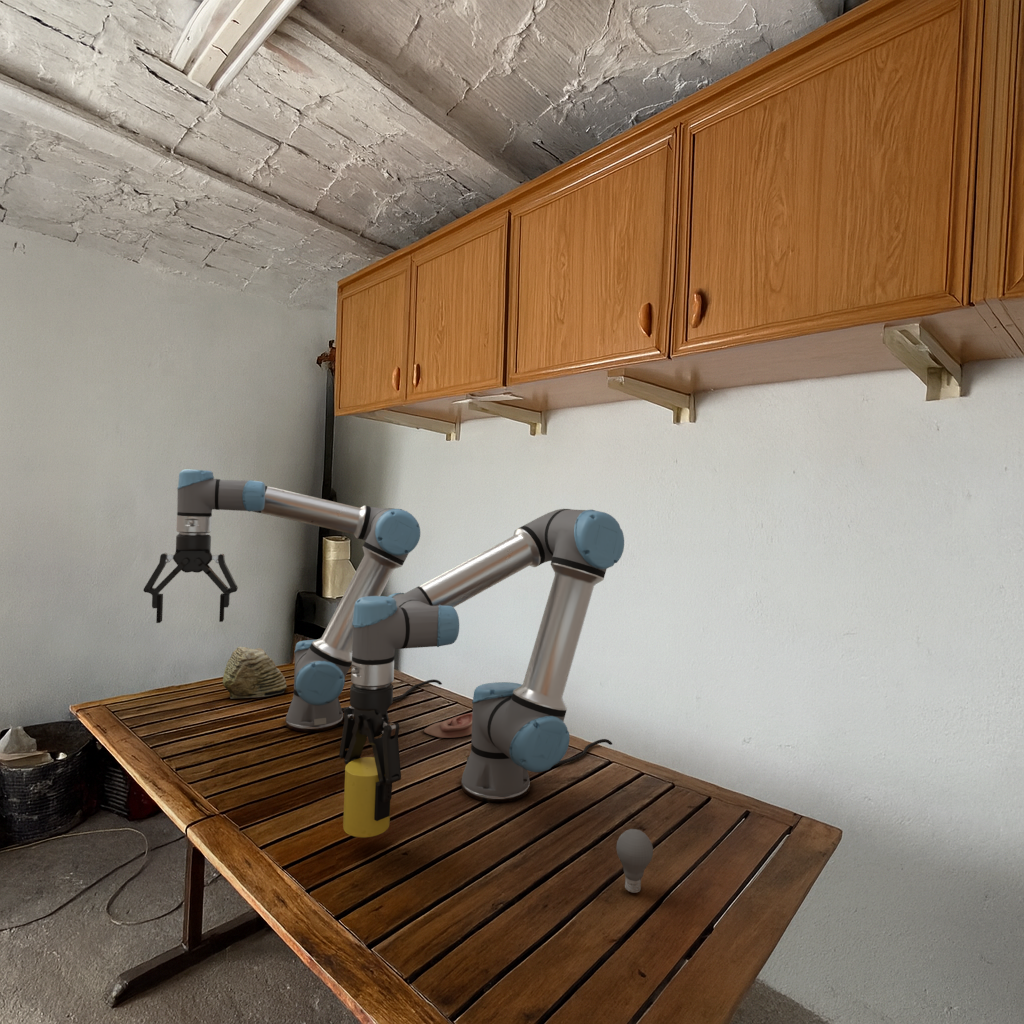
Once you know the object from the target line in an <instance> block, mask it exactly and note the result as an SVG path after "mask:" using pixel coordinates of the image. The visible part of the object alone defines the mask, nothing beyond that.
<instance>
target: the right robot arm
mask: <svg viewBox="0 0 1024 1024" xmlns="http://www.w3.org/2000/svg"><path fill="white" fill-rule="evenodd" d="M624 549H625V535H624V532H623V529H622V528H621V526H620V523H619V521H618V520H617V519H616V518H615V517H614V516H612V514H610V513H607V512H605V511H599V510H595V509H574V508H573V509H572V508H559V509H555V510H552V511H550V512H547V513H545V514H543V515H541V516H539V517H537V518H534V519H533V520H531V521H530V522H527V523H526V524H524V525H522V526H520V527H518V528H516V529H515V530H514V532H513V535H512V536H511V537H509V538H507V539H505V540H503V541H501V542H499V543H498V544H496V545H494V546H491V547H489V548H488V549H485V550H484V551H482V552H481V553H479V554H477V555H475V556H473V557H471V558H469V559H467V560H465V561H464V562H461V563H460V564H457V565H456V566H454V567H453V568H450V569H449V570H446V571H445V572H443V573H441V574H439V575H437V576H435V577H434V578H431V579H429V580H428V581H426V582H424V583H422V584H420V585H418V586H416V587H414V588H413V589H410V590H408V591H406V592H395V593H392V594H390V595H388V596H386V595H381V596H366V597H362V598H359V599H358V600H357V601H356V602H355V605H354V614H353V622H352V625H353V634H352V664H351V671H350V682H351V683H352V684H351V685H350V688H349V689H350V691H349V705H350V706H346V708H345V707H343V708H344V711H343V726H342V732H341V733H342V734H341V740H340V746H339V753H338V756H339V758H340V759H343V761H344V764H345V766H346V765H347V764H348V763H349V762H351V761H353V760H355V759H359V758H362V757H361V756H362V754H363V751H364V748H365V744H366V743H367V742H366V741H368V744H369V745H371V748H372V753H373V757H374V758H375V763H376V768H377V773H378V778H379V782H376V790H375V817H374V820H376V821H379V820H381V819H384V818H386V817H388V816H390V817H391V801H390V800H392V797H393V793H392V791H393V783H396V782H399V781H401V779H402V773H401V772H402V771H401V759H400V758H401V757H400V744H399V742H400V741H399V734H400V723H399V722H392V721H390V718H389V715H388V710H389V708H390V707H391V706H392V704H393V698H394V685H393V682H394V680H395V652H396V650H403V649H417V648H433V647H437V648H440V647H444V646H449V645H453V644H454V643H456V641H457V640H458V638H459V634H460V618H459V614H458V612H457V610H456V608H455V607H457V606H459V605H461V604H463V603H465V602H466V601H468V600H470V599H472V598H474V597H476V596H477V595H479V594H481V593H482V592H484V591H486V590H488V589H491V588H492V587H493V586H496V585H497V584H499V583H500V582H503V581H504V580H506V579H508V578H509V577H512V576H514V575H515V574H517V573H518V572H521V571H522V570H524V569H526V568H528V567H532V568H537V567H539V566H541V565H542V564H544V563H547V562H550V566H551V568H552V570H553V573H554V577H553V580H552V584H551V587H550V590H549V594H548V597H547V601H546V604H545V607H544V611H543V613H542V618H541V620H540V624H539V628H538V631H537V634H536V638H535V641H534V644H533V648H532V652H531V656H530V659H529V662H528V665H527V669H526V672H525V676H524V679H523V682H522V684H521V683H518V682H509V681H507V682H505V681H500V682H488V683H482V684H480V685H477V686H476V687H475V689H474V690H473V697H472V701H471V702H472V712H471V713H472V734H471V744H470V752H469V756H468V757H466V764H465V767H464V770H463V772H462V774H461V790H462V791H463V793H465V794H466V795H468V796H469V797H471V798H473V799H476V800H479V801H481V802H487V803H488V802H489V803H508V802H512V801H517V800H519V799H522V798H523V797H525V796H527V794H528V793H529V791H530V784H531V783H530V782H531V781H530V775H529V772H531V773H542V772H546V771H549V770H550V769H552V768H554V767H558V766H563V765H565V764H568V763H572V762H574V761H577V760H579V759H581V758H583V757H584V756H585V755H586V754H587V753H588V750H589V749H590V748H592V747H594V746H597V745H599V744H603V743H606V744H608V745H610V746H611V745H613V742H612V741H611V740H609V739H608V738H601V739H597V740H595V741H593V742H591V743H588V744H587V745H586V746H585V747H584V749H583V750H582V752H580V753H578V754H577V755H575V756H573V757H570V758H569V757H568V758H566V759H563V758H564V757H565V755H566V754H567V751H568V749H569V746H570V739H571V738H570V737H571V736H570V732H569V730H568V726H567V724H566V723H565V722H564V721H565V718H566V714H567V711H568V706H567V704H566V702H565V700H564V693H565V690H566V687H567V683H568V680H569V676H570V672H571V669H572V666H573V662H574V658H575V655H576V653H577V648H578V644H579V641H580V637H581V634H582V630H583V626H584V624H585V620H586V616H587V613H588V610H589V606H590V603H591V599H592V595H593V593H594V588H595V586H596V585H597V584H599V583H601V582H602V581H604V579H605V575H606V573H607V570H608V569H609V568H612V567H613V566H614V565H615V564H617V563H618V562H619V561H620V560H621V558H622V557H623V556H622V555H623V553H624ZM384 775H385V776H384Z"/></svg>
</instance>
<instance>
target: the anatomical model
mask: <svg viewBox="0 0 1024 1024" xmlns="http://www.w3.org/2000/svg"><path fill="white" fill-rule="evenodd" d="M472 713H473V712H468V713H464V714H461V715H457V716H454V717H452V718H448V719H446V720H443V721H439V722H435V723H433V724H430V725H429V726H427V727H425V728H424V730H423V733H424V734H427V735H430V736H432V737H436V738H442V739H448V738H449V739H451V738H461V737H466V736H469V735H472Z"/></svg>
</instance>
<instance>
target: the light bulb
mask: <svg viewBox="0 0 1024 1024" xmlns="http://www.w3.org/2000/svg"><path fill="white" fill-rule="evenodd" d="M615 849H616V854H617V857H618V859H619V861H620V863H621V865H622V867H623V873H624V874H623V875H624V876H625V878H624V888H625V890H627V891H628V892H630V893H634V894H635V893H639V892H640V891H641V889H642V887H641V886H642V879H643V877H644V875H645V871H646V868H647V867H648V866H649V864H650V863H651V861H652V859H653V855H654V847H653V843H652V841H651V838H649V836H648V835H647V834H646V833H645V832H643V831H642V830H641V829H636V828H629V829H627V830H625V831H623V832H622V833H621V834H620V835H619V837H618V839H617V841H616V847H615Z"/></svg>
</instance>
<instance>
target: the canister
mask: <svg viewBox="0 0 1024 1024" xmlns="http://www.w3.org/2000/svg"><path fill="white" fill-rule="evenodd" d="M384 776H385V775H384ZM376 782H379V778H378V773H377V768H376V763H375V758H374V756H365V757H361V758H359V759H355V760H353V761H351V762H349V763H348V764H347V765H346V764H345V767H344V791H343V793H344V795H343V796H344V797H343V818H342V820H343V821H342V829H343V832H344V833H346V834H347V835H348V836H351V837H354V838H372V837H376V836H380V835H381V834H383V833H385V832H386V831H387V830H388V829H389V827H390V825H391V824H390V823H391V815H390V816H388V817H386V818H384V819H381V820H379V821H376V820H374V817H375V790H376ZM391 800H392V799H391ZM391 800H390V802H391Z"/></svg>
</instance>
